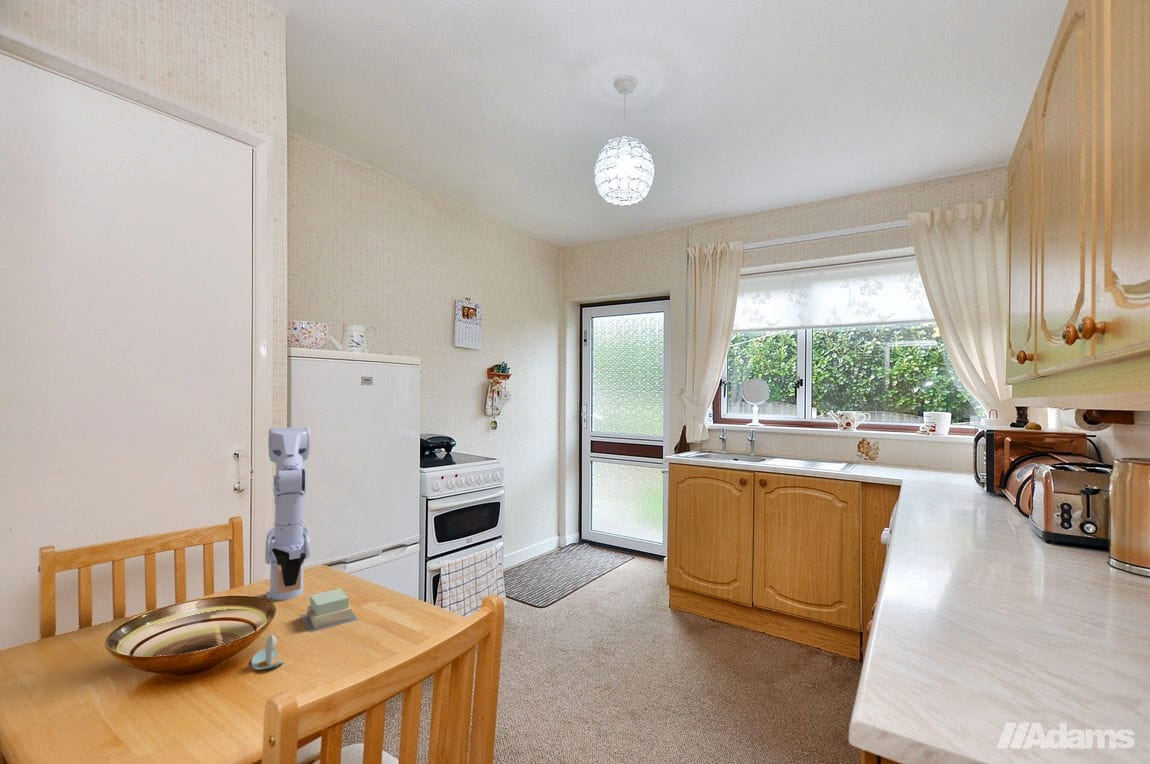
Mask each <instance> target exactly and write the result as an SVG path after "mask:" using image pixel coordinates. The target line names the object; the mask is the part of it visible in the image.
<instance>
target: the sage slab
mask: <svg viewBox="0 0 1150 764" xmlns="http://www.w3.org/2000/svg"><path fill="white" fill-rule="evenodd" d="M309 605H310V606H311V608H312V609H313V611H314V612H315V614H316V615H317V616H320V615H324V614H328V613H332V612H336V611H340V610H344V609H348V605H349V596H348V595H346V593H345V592H344V591H343V590H342V588H336V589H333V590H328V591H325V592H320V593H315V594H311V595H309Z"/></svg>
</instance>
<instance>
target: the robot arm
mask: <svg viewBox="0 0 1150 764" xmlns="http://www.w3.org/2000/svg"><path fill="white" fill-rule="evenodd" d="M267 438H268V440H267V441H268V443H267V444H268V458H269V461H270V462H273V463H275V464H276V466H275V472H274V474H273V488H272V489H273V491H272V493H273V497H274V498H273V499H274V505H275V506H274V510H275V511H274V527H273V528H271V529H270V530H269V531H268V532H267V534H266V539H265V540H266V541H265V552H264V553H265V554H264V555H265V556H264V557H265V558H264V560H265V561H264V562H265V563H266V564H267V565H270V570H269V571H270V572H269V573H270V574H269V575H270V576H269V578H270V579H269V591H266V592H265V596H266V597H267V599H271V600H274V601H287V600H291V599H295V598H298V597H299V596H301V595H302V594H303V593H304V564H305V560H308V558H309V557H310V556H311V555H310V553H311V538H310V530H309V527H307V526H306V525H304V509H305V508H304V507H305V506H304V505H305V502H304V501H305V498H304V497H305V494H306V492H307V472H306V468H305V467H304V461H306V460H307V459H308V458H309V455H310V447H311V429H310V428H309V426H305V427H304V426H303V427H301V426H300V427H270V428H269V429H268V437H267ZM276 565H280V566H281V569H282V574H283V581H284V585H285V587H287V586H292V585H295V584H296V582H297V578H298V574H299V570H300V567H301V589H299V590H294V591H289V592H284V593H280V594H278V592H277V590H276V588H275V570H276Z"/></svg>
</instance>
